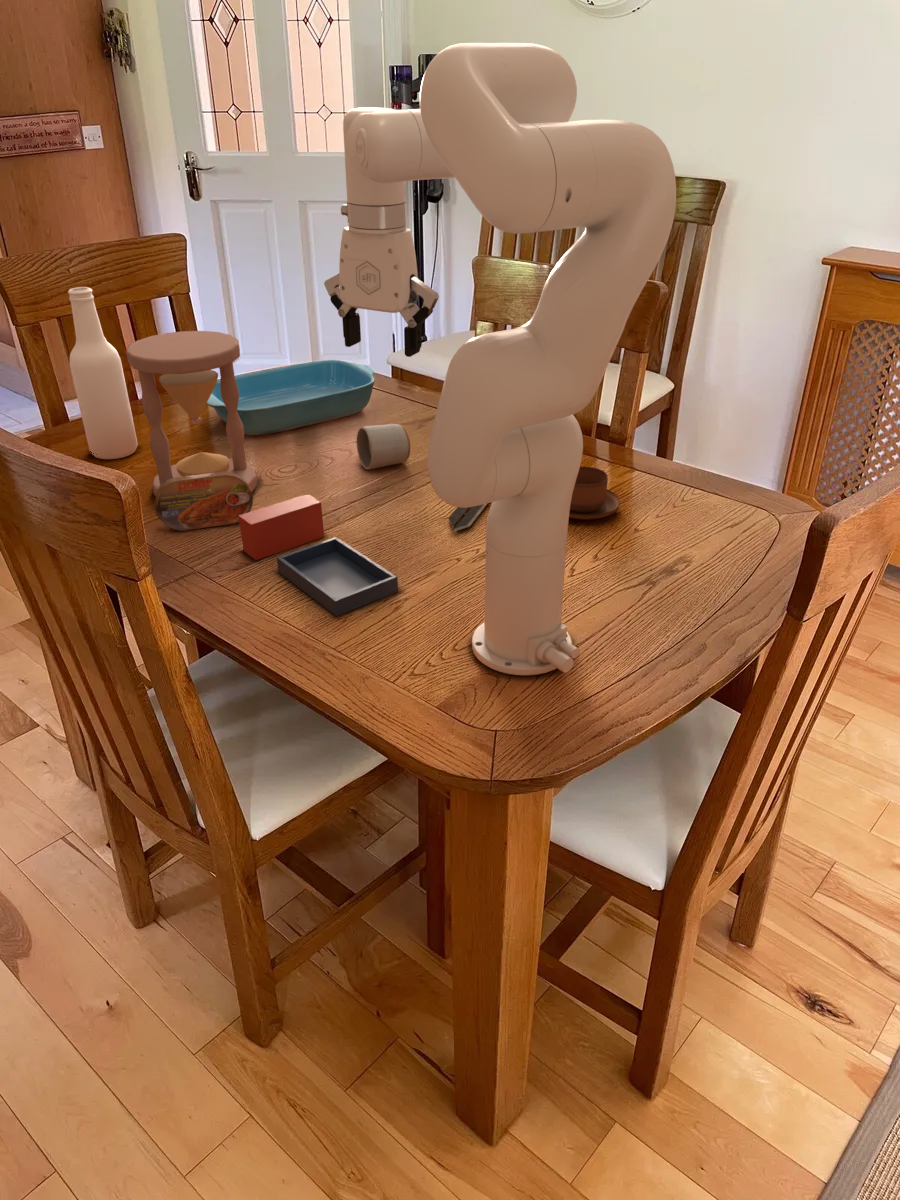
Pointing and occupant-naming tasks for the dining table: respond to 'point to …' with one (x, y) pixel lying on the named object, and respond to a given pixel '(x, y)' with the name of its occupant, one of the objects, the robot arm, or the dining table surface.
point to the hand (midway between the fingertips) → (382, 349)
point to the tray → (337, 575)
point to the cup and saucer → (592, 495)
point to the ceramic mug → (382, 445)
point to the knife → (468, 517)
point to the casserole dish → (298, 395)
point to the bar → (281, 526)
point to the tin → (203, 500)
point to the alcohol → (99, 383)
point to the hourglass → (190, 396)
